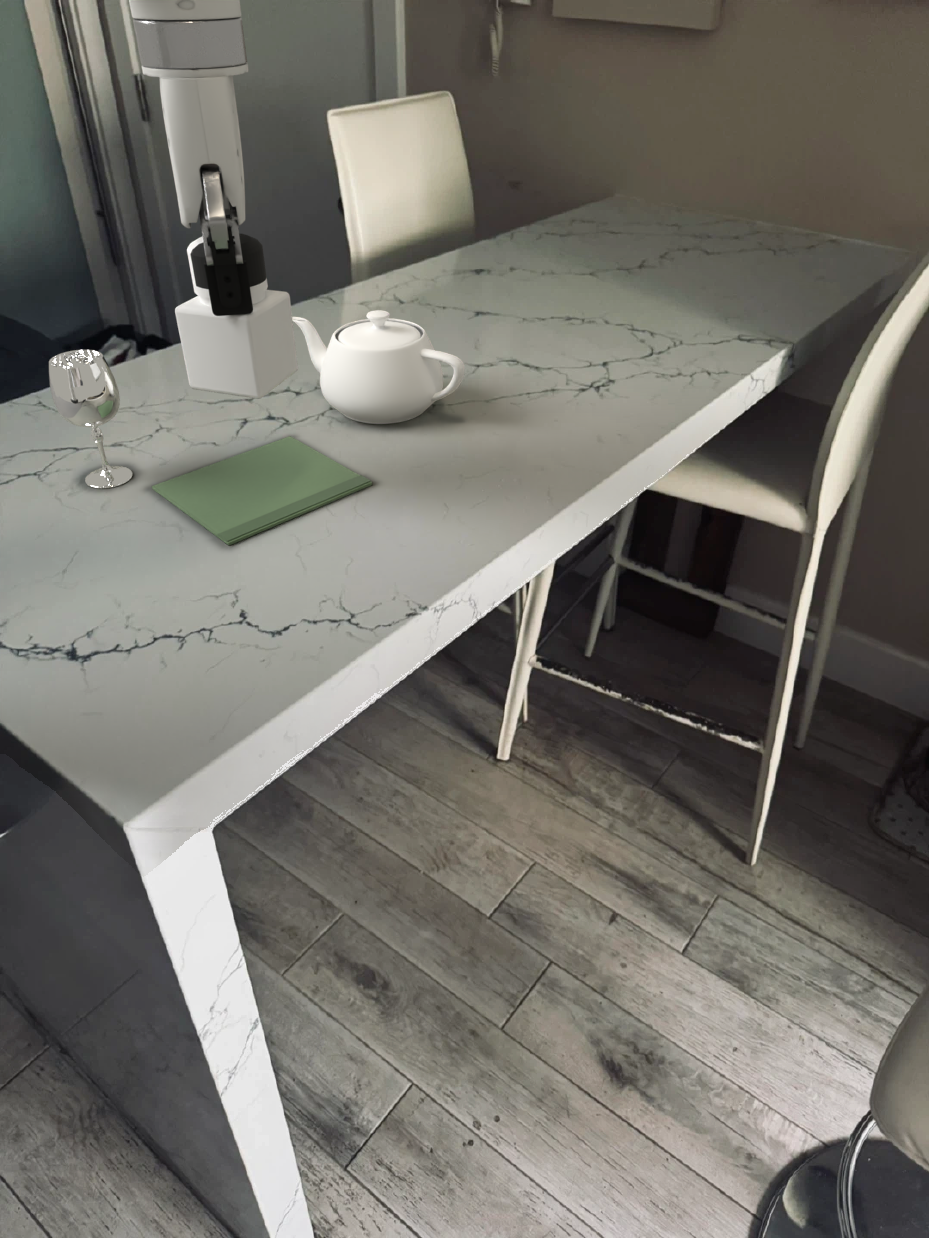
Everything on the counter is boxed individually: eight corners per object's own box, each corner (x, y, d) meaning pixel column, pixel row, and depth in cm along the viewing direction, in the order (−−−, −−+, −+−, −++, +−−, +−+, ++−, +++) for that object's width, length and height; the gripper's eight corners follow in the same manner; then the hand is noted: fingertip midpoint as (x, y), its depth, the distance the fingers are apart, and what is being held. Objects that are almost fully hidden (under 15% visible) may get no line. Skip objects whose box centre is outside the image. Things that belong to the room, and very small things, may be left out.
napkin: (228, 545, 76) (228, 542, 76) (152, 488, 84) (151, 485, 84) (372, 484, 85) (372, 481, 85) (290, 438, 93) (289, 435, 93)
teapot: (491, 402, 100) (492, 308, 94) (433, 450, 91) (430, 349, 84) (331, 369, 108) (323, 280, 102) (263, 410, 99) (249, 314, 92)
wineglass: (151, 473, 87) (123, 355, 79) (104, 497, 83) (70, 376, 76) (113, 459, 89) (81, 343, 82) (65, 481, 85) (28, 362, 78)
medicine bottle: (299, 371, 80) (283, 231, 72) (260, 400, 74) (239, 253, 67) (231, 361, 82) (209, 224, 74) (188, 390, 76) (159, 245, 69)
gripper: (144, 41, 69) (187, 272, 80) (130, 62, 55) (184, 337, 66) (241, 39, 70) (271, 266, 81) (250, 60, 57) (284, 329, 68)
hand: (231, 296), depth 74 cm, fingers closed on medicine bottle, 7 cm apart
